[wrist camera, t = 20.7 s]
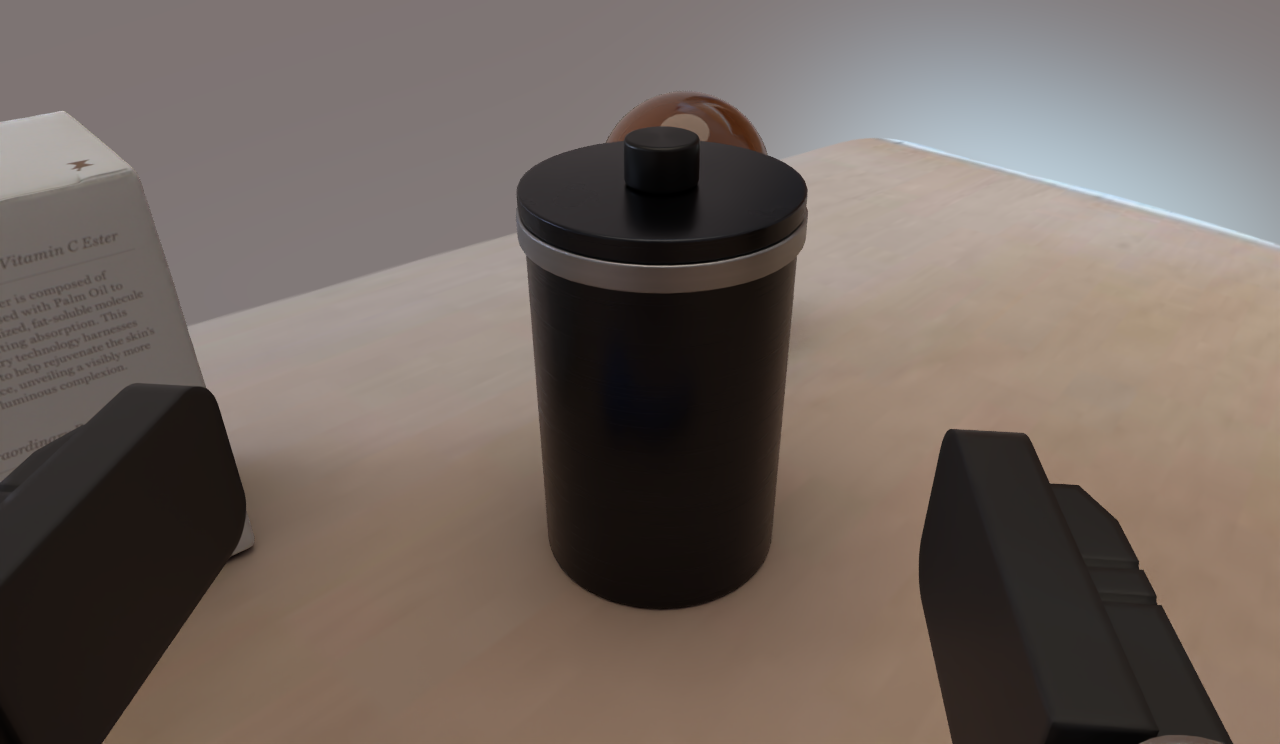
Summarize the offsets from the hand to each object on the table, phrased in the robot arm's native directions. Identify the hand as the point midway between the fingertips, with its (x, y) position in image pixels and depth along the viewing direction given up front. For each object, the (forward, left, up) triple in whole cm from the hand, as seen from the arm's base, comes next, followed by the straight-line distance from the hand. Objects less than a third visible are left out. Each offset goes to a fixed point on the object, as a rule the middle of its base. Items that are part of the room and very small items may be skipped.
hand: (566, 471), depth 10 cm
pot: (0, +11, -10) cm, 15 cm away
